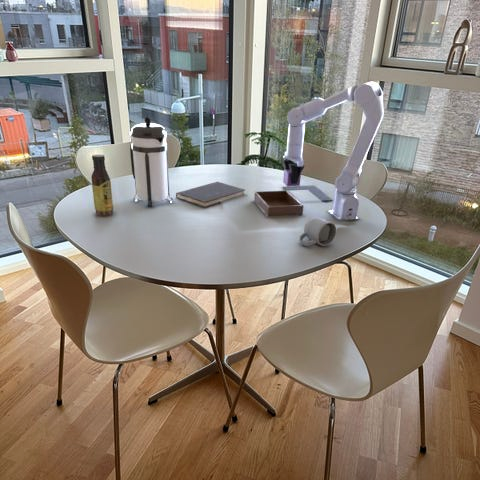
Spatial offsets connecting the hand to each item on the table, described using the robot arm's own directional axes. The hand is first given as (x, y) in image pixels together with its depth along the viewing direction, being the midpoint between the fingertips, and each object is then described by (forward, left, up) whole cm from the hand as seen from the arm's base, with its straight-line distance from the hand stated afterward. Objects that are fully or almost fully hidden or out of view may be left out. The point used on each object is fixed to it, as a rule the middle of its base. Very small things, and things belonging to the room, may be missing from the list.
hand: (291, 181), depth 175 cm
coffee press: (+11, +53, -9) cm, 54 cm away
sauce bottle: (-1, +70, -9) cm, 70 cm away
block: (0, 0, -1) cm, 1 cm away
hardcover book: (+13, +29, -9) cm, 33 cm away
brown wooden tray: (-5, +7, -9) cm, 12 cm away
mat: (+11, -11, -9) cm, 18 cm away
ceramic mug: (-38, +5, -9) cm, 39 cm away
